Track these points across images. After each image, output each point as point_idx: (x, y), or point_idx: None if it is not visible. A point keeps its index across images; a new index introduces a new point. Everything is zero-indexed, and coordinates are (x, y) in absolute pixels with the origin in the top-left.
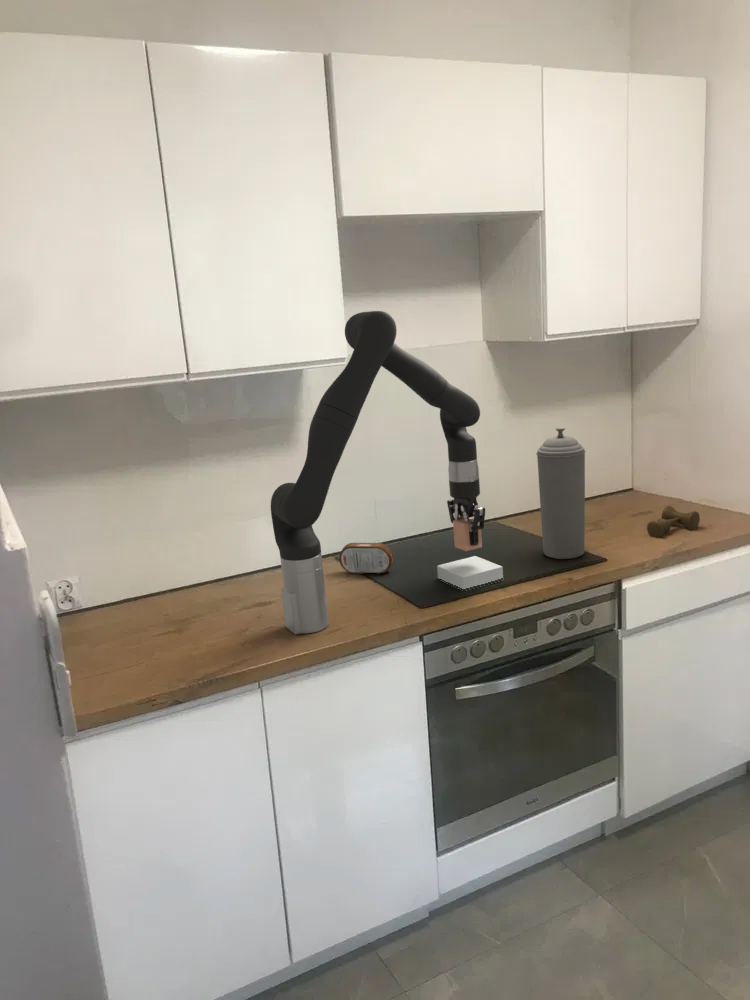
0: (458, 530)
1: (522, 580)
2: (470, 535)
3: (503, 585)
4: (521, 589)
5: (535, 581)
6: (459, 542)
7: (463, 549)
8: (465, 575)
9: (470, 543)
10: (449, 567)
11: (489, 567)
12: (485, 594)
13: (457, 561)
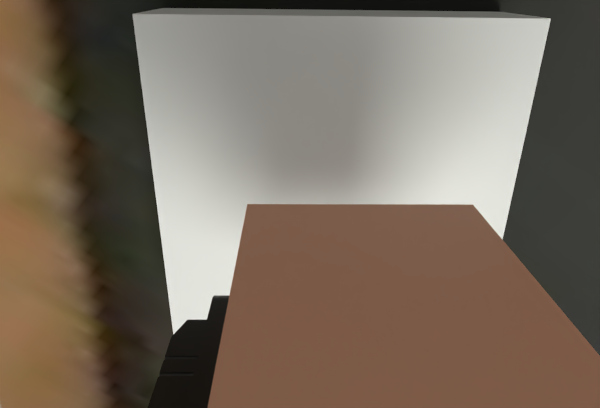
0: (431, 363)
1: (128, 349)
2: (199, 389)
3: (113, 246)
4: (3, 276)
5: (79, 379)
6: (380, 242)
7: (292, 208)
8: (160, 56)
9: (226, 304)
10: (426, 74)
11: (213, 284)
12: (23, 81)
13: (489, 202)
